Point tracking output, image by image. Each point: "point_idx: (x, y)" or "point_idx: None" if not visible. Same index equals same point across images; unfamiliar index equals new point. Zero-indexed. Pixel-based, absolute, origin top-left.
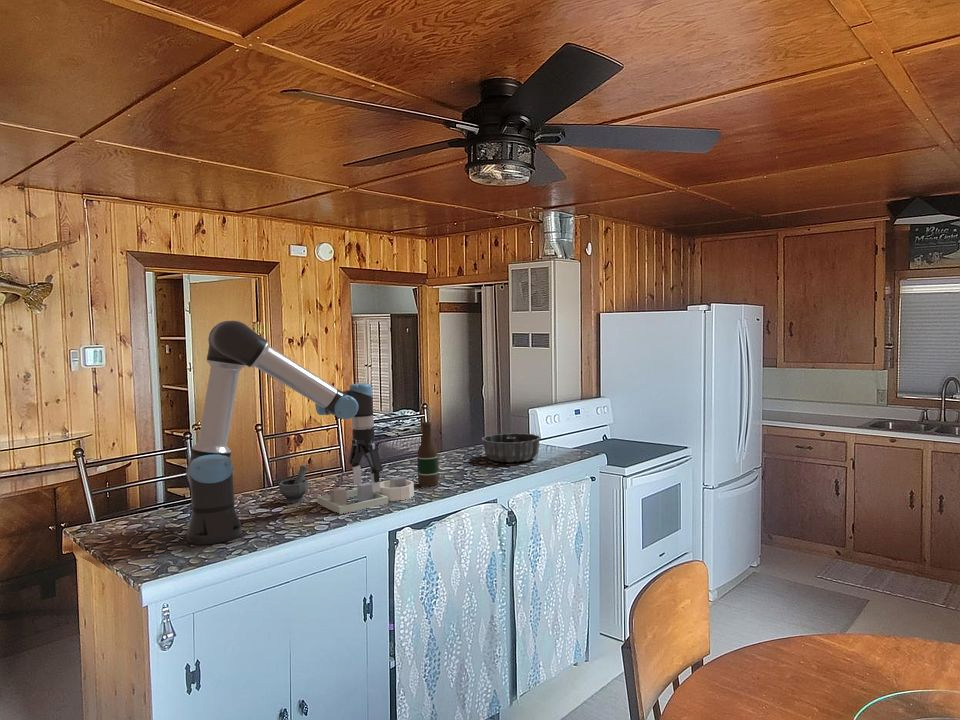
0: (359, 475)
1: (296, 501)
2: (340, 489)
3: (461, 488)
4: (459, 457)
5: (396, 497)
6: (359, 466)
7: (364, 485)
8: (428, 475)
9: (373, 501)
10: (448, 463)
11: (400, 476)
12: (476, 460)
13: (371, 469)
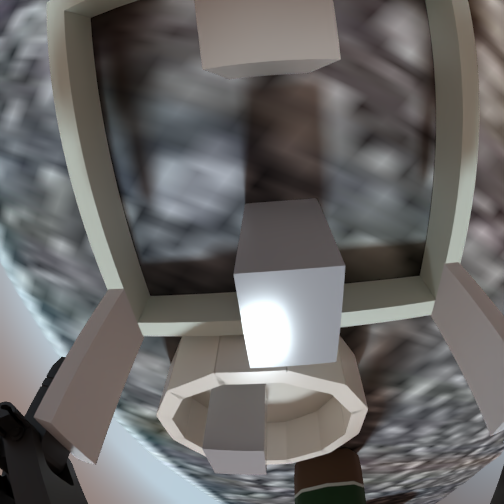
0: (463, 356)
1: None
2: (232, 4)
3: (221, 475)
4: (443, 483)
5: (171, 365)
6: (495, 427)
7: (242, 301)
8: (301, 489)
9: (96, 242)
10: (435, 477)
11: (262, 473)
12: (401, 497)
13: (35, 458)
